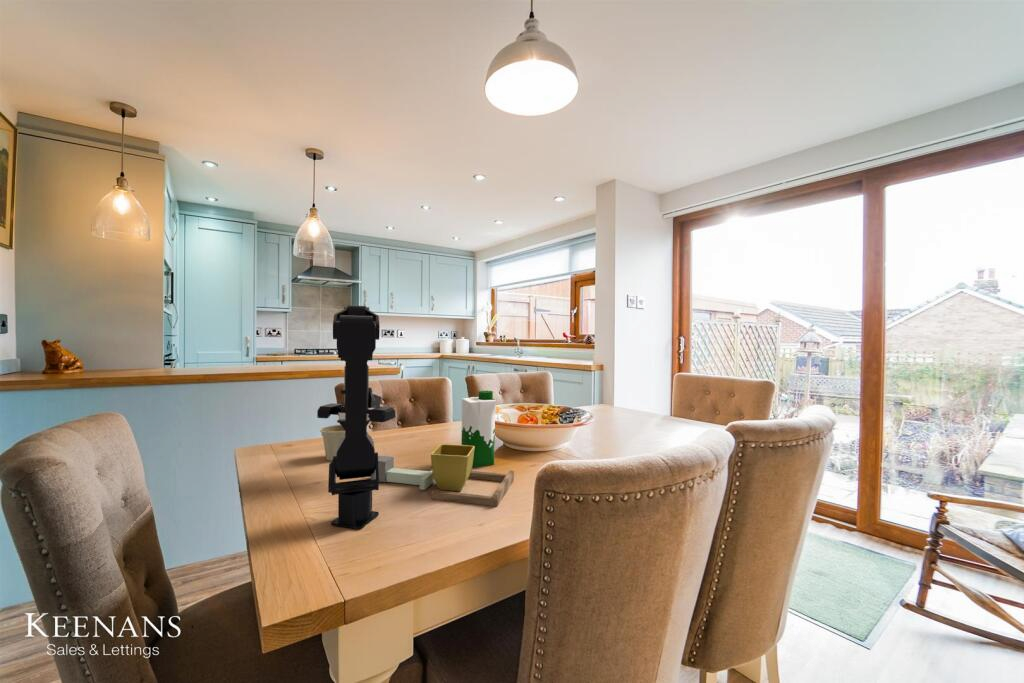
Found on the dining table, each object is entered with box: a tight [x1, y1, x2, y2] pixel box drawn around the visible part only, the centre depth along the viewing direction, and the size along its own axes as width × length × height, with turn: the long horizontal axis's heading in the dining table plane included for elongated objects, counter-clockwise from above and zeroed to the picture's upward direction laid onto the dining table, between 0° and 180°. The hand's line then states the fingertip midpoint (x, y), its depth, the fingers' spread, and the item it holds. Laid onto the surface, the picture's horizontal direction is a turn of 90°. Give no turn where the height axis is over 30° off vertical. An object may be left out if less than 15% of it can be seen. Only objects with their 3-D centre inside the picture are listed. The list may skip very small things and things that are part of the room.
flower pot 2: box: [430, 443, 475, 492], centre depth 97 cm, size 9×9×9 cm
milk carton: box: [461, 390, 498, 468], centre depth 116 cm, size 9×9×20 cm
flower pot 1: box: [319, 424, 345, 462], centre depth 118 cm, size 9×9×9 cm
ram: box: [369, 455, 435, 491], centre depth 100 cm, size 8×15×5 cm, turn 77°
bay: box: [431, 470, 515, 507], centre depth 96 cm, size 15×15×2 cm
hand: (356, 446), depth 103 cm, fingers closed
